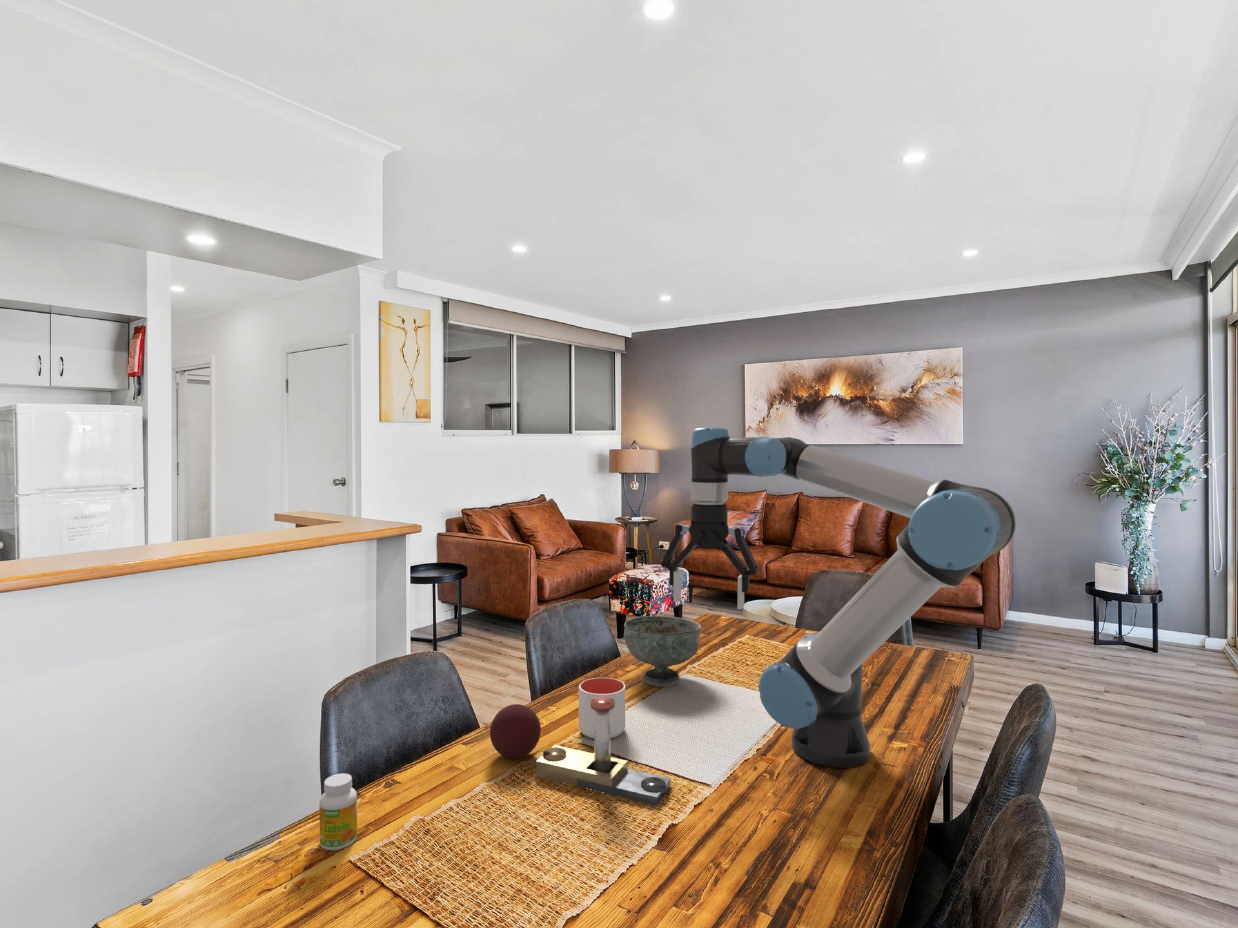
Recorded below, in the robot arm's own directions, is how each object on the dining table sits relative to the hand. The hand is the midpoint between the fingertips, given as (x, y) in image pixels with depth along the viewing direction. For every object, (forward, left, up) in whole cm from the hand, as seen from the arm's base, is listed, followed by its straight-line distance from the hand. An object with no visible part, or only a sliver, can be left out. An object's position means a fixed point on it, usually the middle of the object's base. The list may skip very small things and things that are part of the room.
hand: (708, 604), depth 137 cm
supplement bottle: (+43, +57, -29) cm, 77 cm away
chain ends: (+13, +24, -29) cm, 40 cm away
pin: (+13, +24, -29) cm, 40 cm away
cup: (+22, +5, -29) cm, 37 cm away
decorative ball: (+33, +22, -29) cm, 49 cm away
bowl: (+21, -30, -29) cm, 47 cm away
